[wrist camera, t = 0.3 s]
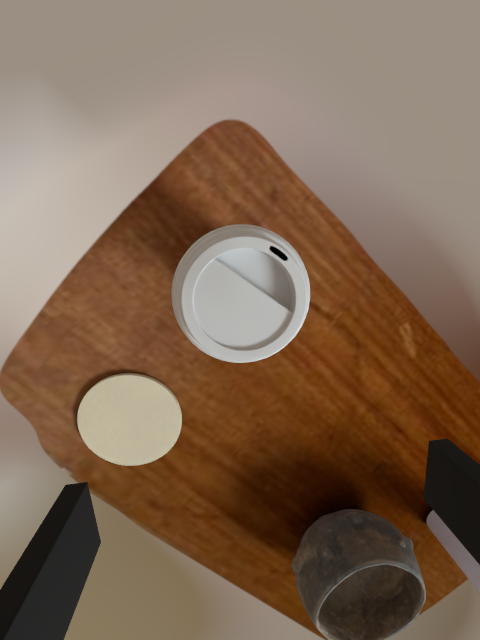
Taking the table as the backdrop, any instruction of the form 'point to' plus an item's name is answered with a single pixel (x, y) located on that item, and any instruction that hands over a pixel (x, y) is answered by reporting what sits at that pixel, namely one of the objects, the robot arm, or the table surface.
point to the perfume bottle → (455, 549)
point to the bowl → (358, 576)
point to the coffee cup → (240, 293)
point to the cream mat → (129, 419)
